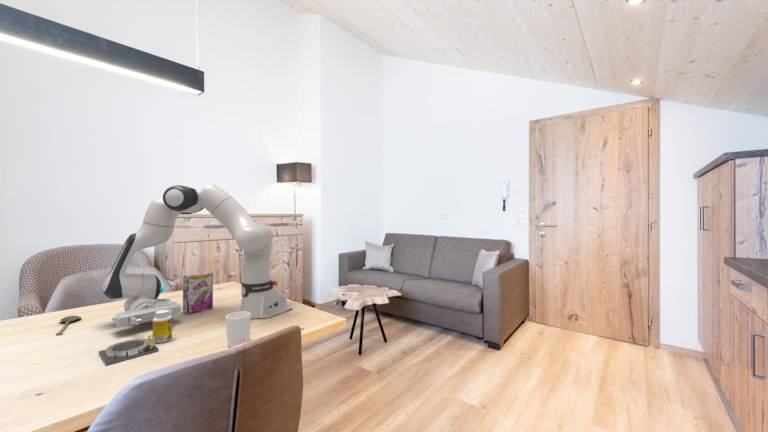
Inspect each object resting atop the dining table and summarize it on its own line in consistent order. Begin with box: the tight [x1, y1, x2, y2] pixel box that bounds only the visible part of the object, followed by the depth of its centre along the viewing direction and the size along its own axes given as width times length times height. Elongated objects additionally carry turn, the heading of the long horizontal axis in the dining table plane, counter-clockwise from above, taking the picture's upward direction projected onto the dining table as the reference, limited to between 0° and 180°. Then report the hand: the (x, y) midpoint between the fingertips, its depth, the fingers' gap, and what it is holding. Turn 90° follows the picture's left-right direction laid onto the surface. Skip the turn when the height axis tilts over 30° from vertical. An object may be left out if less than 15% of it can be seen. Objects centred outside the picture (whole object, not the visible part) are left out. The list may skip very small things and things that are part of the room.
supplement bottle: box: [152, 310, 173, 344], centre depth 113 cm, size 6×6×10 cm
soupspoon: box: [55, 315, 82, 337], centre depth 126 cm, size 22×3×7 cm
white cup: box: [225, 311, 252, 348], centre depth 110 cm, size 8×8×10 cm
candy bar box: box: [182, 272, 214, 315], centre depth 147 cm, size 11×5×16 cm, turn 144°
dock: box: [98, 334, 160, 366], centre depth 104 cm, size 13×12×5 cm
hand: (154, 318), depth 119 cm, fingers open, 8 cm apart
